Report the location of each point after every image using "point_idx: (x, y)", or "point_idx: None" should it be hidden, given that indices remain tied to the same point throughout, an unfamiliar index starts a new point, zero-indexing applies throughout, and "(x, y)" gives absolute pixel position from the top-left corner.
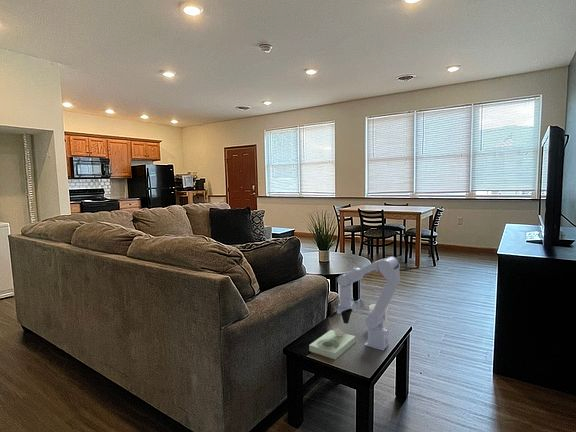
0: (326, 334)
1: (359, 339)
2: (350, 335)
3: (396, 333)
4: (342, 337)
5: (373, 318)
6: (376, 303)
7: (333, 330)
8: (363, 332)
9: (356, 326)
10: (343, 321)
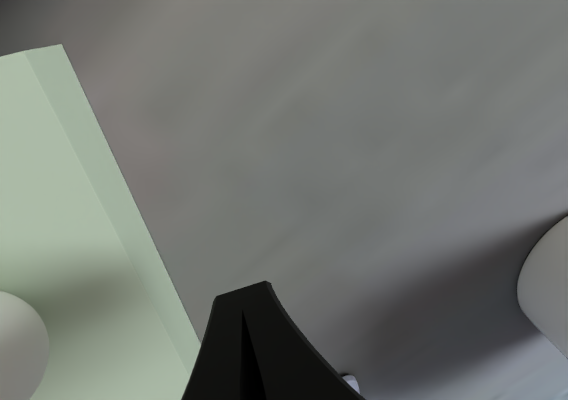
0: None
1: None
2: (168, 365)
3: (550, 384)
4: None
5: None
6: None
7: (49, 113)
8: (430, 246)
9: (526, 91)
10: (212, 318)
